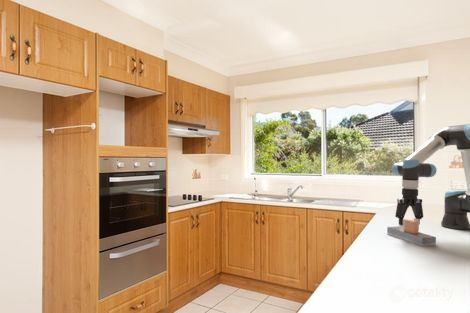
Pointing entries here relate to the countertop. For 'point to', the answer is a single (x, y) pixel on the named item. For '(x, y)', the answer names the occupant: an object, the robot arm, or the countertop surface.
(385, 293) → the countertop surface
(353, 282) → the countertop surface
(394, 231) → the rail
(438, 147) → the robot arm
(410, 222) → the tall peach block
